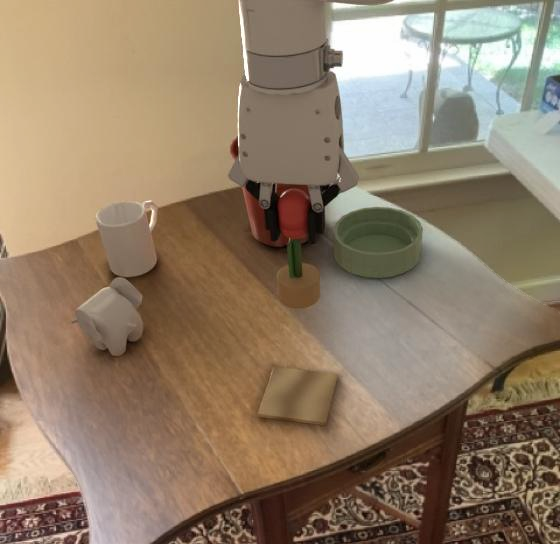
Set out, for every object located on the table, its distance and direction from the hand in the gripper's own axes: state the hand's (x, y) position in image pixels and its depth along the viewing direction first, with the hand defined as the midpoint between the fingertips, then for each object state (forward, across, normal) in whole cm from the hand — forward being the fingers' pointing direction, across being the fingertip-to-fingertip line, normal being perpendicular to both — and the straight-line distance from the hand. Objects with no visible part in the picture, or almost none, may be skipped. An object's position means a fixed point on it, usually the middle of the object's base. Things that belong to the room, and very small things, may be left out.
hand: (295, 234), depth 73 cm
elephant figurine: (+24, +30, -5) cm, 39 cm away
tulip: (+8, 0, 0) cm, 8 cm away
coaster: (+24, 0, +2) cm, 24 cm away
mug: (+24, +34, -26) cm, 49 cm away
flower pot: (+24, +12, -38) cm, 46 cm away
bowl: (+24, -6, -32) cm, 40 cm away
